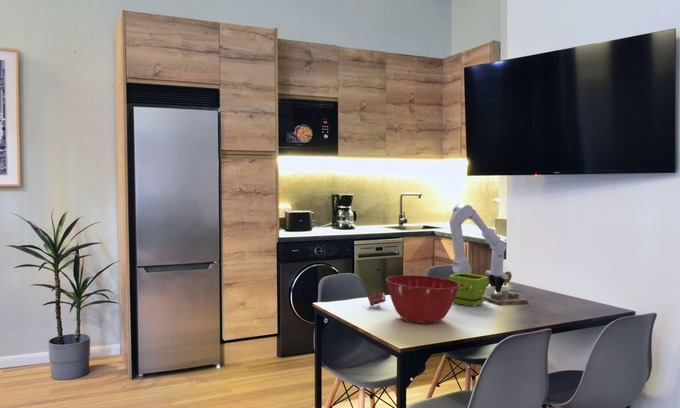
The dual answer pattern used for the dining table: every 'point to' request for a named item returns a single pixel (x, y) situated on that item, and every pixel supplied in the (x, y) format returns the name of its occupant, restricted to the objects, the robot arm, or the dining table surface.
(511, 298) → the brown rectangular board
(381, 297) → the geometric puzzle
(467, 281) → the flower pot
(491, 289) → the cream bar
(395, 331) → the dining table surface
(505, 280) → the lion figurine
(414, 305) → the mixing bowl
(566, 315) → the dining table surface
